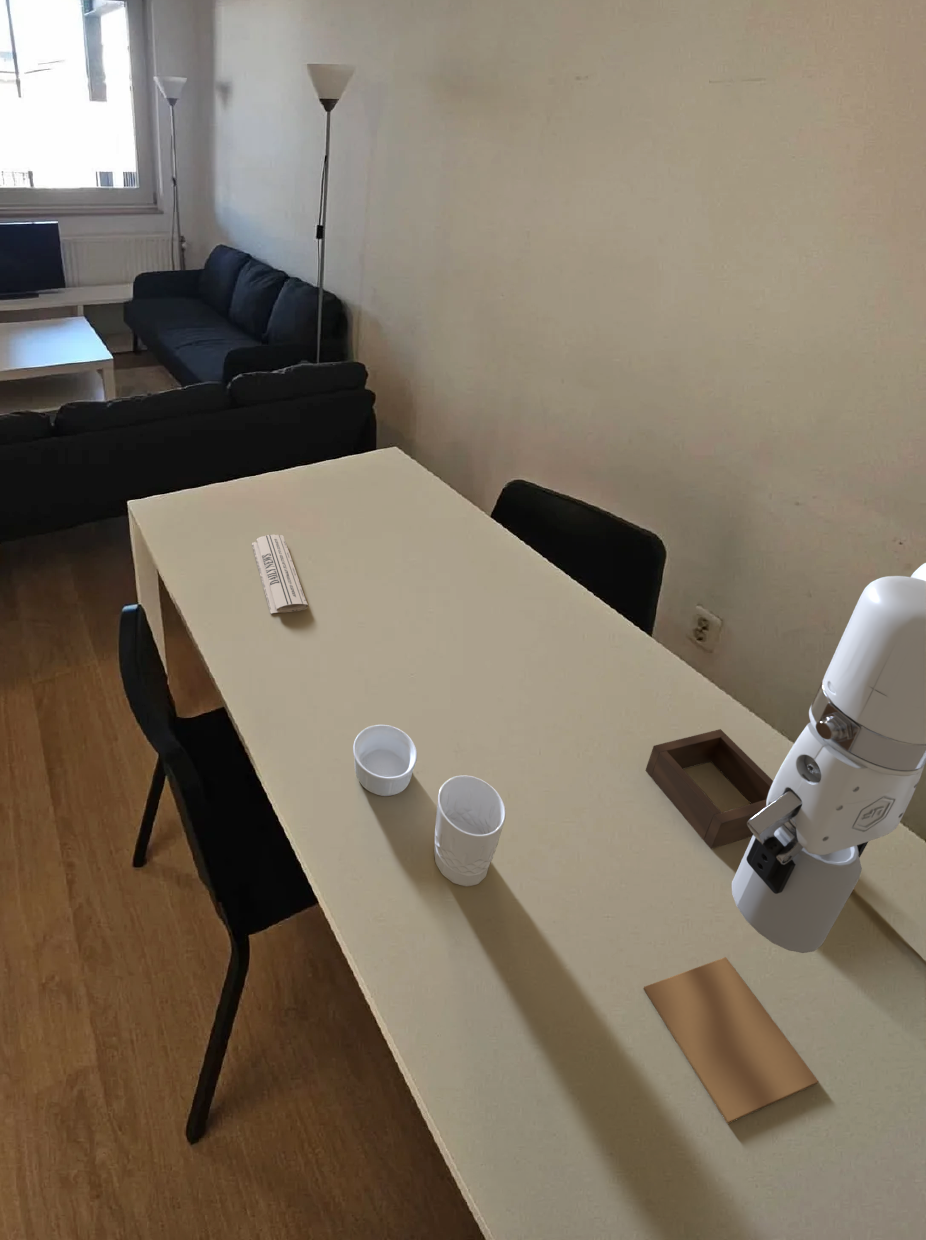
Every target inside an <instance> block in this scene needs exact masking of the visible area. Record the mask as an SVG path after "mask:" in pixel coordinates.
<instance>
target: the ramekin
mask: <svg viewBox="0 0 926 1240" xmlns="http://www.w3.org/2000/svg"><path fill="white" fill-rule="evenodd" d="M352 752H353V758H354V772H355V775H356V778H357V780H358V781H359V784H360V785H361V786H362V787H363V788H364V789H365V790H366V791H368V792H370V793H372V794H374V795H377V796H382V797H390V796H395V795H398V794H401V793H402V792H404V791H405V789H406V788H407V787H408V786H409V784H410V782H411V779H412V776H413V772H414V769H415V767H416V764H417V761H418V750H417V748H416V744H415V742H414V740H413V739H412V738H411V737H410V736H409V735H408V734H407V732H405V731H403V730H402V729H400V728H398V727H395V726H393V725H388V724H375V725H374V724H373V725H369V726H367V727H366V728H364V729H362V730H361V731H360V732H359V733H358V734H357V736H356V737H355V739H354V742H353V745H352Z"/></svg>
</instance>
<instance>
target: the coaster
mask: <svg viewBox="0 0 926 1240" xmlns="http://www.w3.org/2000/svg"><path fill="white" fill-rule="evenodd" d="M642 989H643V991H644V993H645V994H646V996H647V997H648V998H649V1000H650V1002H651V1004H652V1005H653V1007H654V1008H655V1011H657V1013H658V1015H659V1016H660V1018H661V1020H662V1021H663V1023H664V1025H665V1026H666V1028H667V1029H668V1031H669V1033H670V1034H671V1036H672V1037H673V1039H674V1040H675V1042H676V1044H677V1046H678V1047H679V1048H680V1050H681V1052H682V1054H683V1055H684V1056H685V1058H686V1060H687V1062H688V1063H689V1065H690V1067H691V1068H692V1070H693V1072H694V1073H695V1074H696V1076H697V1077H698V1079H699V1081H700V1082H701V1084H702V1087H704V1089H705V1090H706V1093H707V1094H708V1095H709V1097H710V1099H711V1100H712V1101H713V1103H714V1105H715V1104H716V1105H715V1107H716V1108H717V1109H718V1112H719V1113H720V1115H721V1116H722V1115H723V1116H722V1118H723V1117H724V1118H723V1119H724V1121H725V1122H726V1121H727V1122H726V1124H727V1123H729V1124H731V1123H732V1122H731V1121H733V1122H735V1121H737V1120H736V1119H738V1120H740V1119H742V1118H744V1117H746V1116H749V1115H751V1114H754V1113H755V1112H758V1111H759V1110H762V1109H764V1108H767V1107H768V1106H771V1105H773V1104H775V1103H778V1102H779V1101H782V1100H784V1099H786V1098H788V1097H790V1096H793V1095H795V1094H797V1093H800V1092H802V1091H804V1090H807V1089H808V1088H811V1087H813V1086H815V1085H817V1084H819V1080H818V1079H817V1077H816V1076H815V1074H814V1073H813V1072H812V1071H811V1069H810V1068H809V1067H808V1065H807V1064H806V1062H805V1061H804V1060H803V1058H802V1057H801V1056H800V1054H799V1053H798V1052H797V1050H796V1049H795V1048H794V1047H793V1045H792V1044H791V1043H790V1041H789V1040H788V1038H787V1037H786V1036H785V1034H784V1033H783V1031H782V1030H781V1029H780V1028H779V1026H778V1025H777V1023H776V1022H775V1021H774V1020H773V1018H772V1017H771V1015H770V1014H769V1013H768V1011H767V1010H766V1009H765V1008H764V1006H763V1005H762V1003H761V1002H760V1001H759V999H758V998H757V996H755V994H754V992H753V991H752V990H751V989H750V987H749V986H748V985H747V984H746V982H745V980H743V978H742V977H741V975H740V974H739V972H738V971H737V970H736V968H735V967H734V965H733V964H732V963H731V962H730V961H729V959H728V958H727V957H726V956H725V957H721V958H719V959H716V960H714V961H712V962H708V963H705V964H702V965H700V966H697V967H695V968H691V969H689V970H686V971H683V972H680V973H678V974H675V975H672V976H670V977H667V978H665V979H662V980H659V981H656V982H654V983H651V984H648V985H645V986H643V988H642ZM748 1114H749V1115H748ZM745 1115H746V1116H745ZM743 1116H744V1117H743ZM741 1117H742V1118H741ZM739 1118H740V1119H739ZM734 1120H735V1121H734ZM730 1122H731V1123H730Z"/></svg>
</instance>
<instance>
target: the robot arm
mask: <svg viewBox="0 0 926 1240" xmlns="http://www.w3.org/2000/svg"><path fill="white" fill-rule="evenodd" d="M808 717H809V720H810V722H808V723H807V724H806V726H805V727H804V729H803V730H802V732H801V733H800V734H799V736H798V737H797V739H796V740H795V741H794V743H793V744H792V747H790V750H789V751H788V753H787V755H786V756H785V759H784V760H783V762H782V763H781V765H780V767H779V769H778V771H777V773H776V775H775V777H774V779H773V783H772V785H771V788H770V790H769V793H768V796H767V801H766V806H767V807H766V808H764V809H763V810H761V811H760V812H759V813H757V814H756V815H755V816H753V817H752V818H750V819H749V820H748V822H747V825H748V827H749V829H750V830H751V833H752V834H753V835H754V836H755V837H756V838H755V840H754V842H753V845H752V847H751V849H750V851H749V854H748V856H747V862H748V864H749V865H750V866H751V867H752V868H753V870H754V871H755V872H756V873H757V874H758V876H759V877H760V878H761V879H762V880H763V881H764V882H765V884H766V885H767V886H768V887H769V888H770V889H771V890H772V892H773V893H775V894H778V893H781V892H782V891H783V889H784V887H785V885H786V883H787V881H788V879H789V877H790V875H791V873H792V871H793V869H794V867H795V865H796V864H795V863H794V861H793V860H792V859H793V858H794V857H795V856H796V855H797V854H798V853H799V852H800V851H801V850H802V849H803V848H805V849H806V851H808V852H809V853H811V854H815V855H826V854H830V853H833V852H837V851H840V850H843V849H847V848H850V847H853V846H856V845H857V847H858V851H859V855H858V856H859V858H860V857H861V856H862V854H863V853H864V850H865V849H866V847H867V846H868V843H869V842H871V841H874V840H877V839H880V838H882V837H885V836H887V835H889V834H891V833H892V832H894V831H895V830H896V829H897V828H898V826H899V824H900V822H901V821H902V819H903V816H904V814H905V812H906V810H907V808H908V806H909V804H910V803H911V800H912V798H913V795H914V793H915V791H916V789H917V787H918V784H919V783H920V780H921V776H922V774H923V771H924V768H925V765H926V562H924V563H922V564H921V565H920V566H919V567H918V568H916V569H915V570H914V572H913V573H912V574H911V575H910V576H905V575H889V576H883V577H880V578H879V577H878V578H877V579H875V580H873V581H871V582H869V584H867V585H866V586H865V587H864V589H863V590H862V593H861V594H860V596H859V599H858V600H857V602H856V604H855V607H854V609H853V611H852V614H851V616H850V617H849V620H848V623H847V624H846V627H845V629H844V631H843V633H842V635H841V638H840V640H839V642H838V645H837V647H836V649H835V652H834V654H833V656H832V658H831V660H830V663H829V665H828V667H827V669H826V671H825V674H824V676H823V679H822V681H821V682H820V685H819V687H818V689H817V692H816V694H815V696H814V698H813V701H812V702H811V704H810V706H809V710H808ZM796 815H797V816H796ZM795 816H796V823H795V822H794V821H793V820H792V818H793V817H795ZM782 825H784V826H785V827H786V828H787V829H788V830H789V831H790V832H791V834H792V835H793V836H794V838H793V839H792V840H791V841H790V842H789V843H788V844H787V845H786V846H784V845H783V844H782V843H781V842H780V841H779V840H778V839H777V838H776V836H775V835H774V832H775V831H776V830H777V829H778V828H780V827H781V826H782ZM860 859H861V858H860Z"/></svg>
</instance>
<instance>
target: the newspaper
mask: <svg viewBox="0 0 926 1240" xmlns="http://www.w3.org/2000/svg"><path fill="white" fill-rule="evenodd" d="M251 547H252V549H253V554H254V557H255V561H256V566H257V568H258V572H259V576H260V579H261V580H260V581H261V584H262V587H263V591H264V595H265V599H266V602H267V607H268V610H269V614H272V615H273V614H277V613H292V612H293V613H294V612H301V611H303V610H306V609H307V608H308V607H309V606H308V605H309V604H308V602H307V599H306V596H305V594H304V590H303V588H302V585H301V581H300V579H299V576H298V573H297V570H296V567H295V565H294V562H293V559H292V557H291V553H290V551H289V548H288V546H287V542H286V539H285V536H284V535H282V534H267V535H262V536H260V537H257V538H256V541H254V542H253V541H252V542H251Z"/></svg>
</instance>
